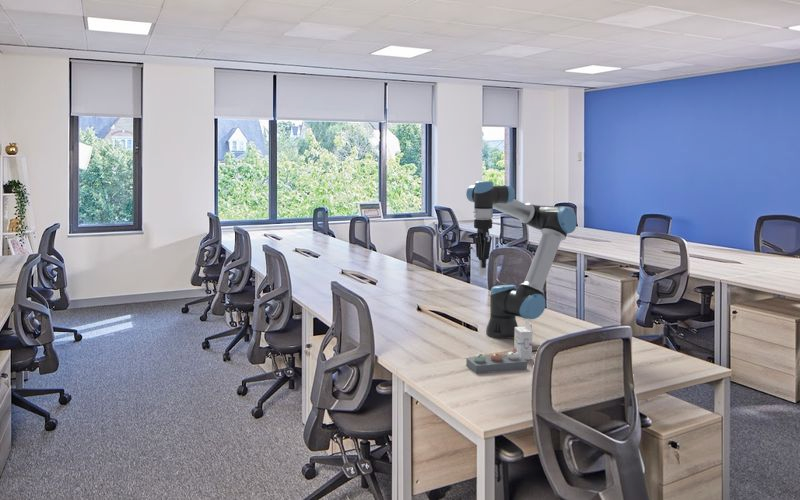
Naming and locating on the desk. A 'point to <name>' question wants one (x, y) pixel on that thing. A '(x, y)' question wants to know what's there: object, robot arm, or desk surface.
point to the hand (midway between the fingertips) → (482, 275)
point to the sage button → (479, 358)
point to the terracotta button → (496, 357)
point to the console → (496, 364)
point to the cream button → (513, 355)
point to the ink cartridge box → (523, 341)
